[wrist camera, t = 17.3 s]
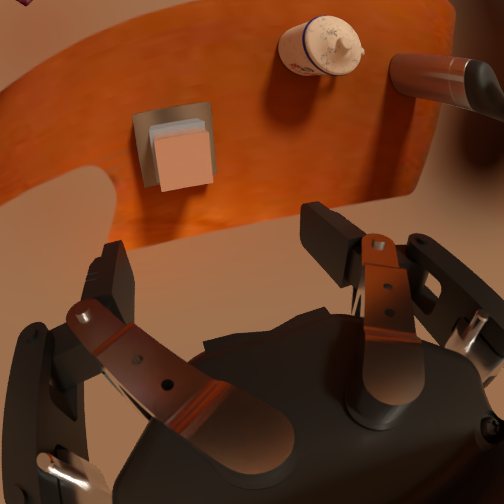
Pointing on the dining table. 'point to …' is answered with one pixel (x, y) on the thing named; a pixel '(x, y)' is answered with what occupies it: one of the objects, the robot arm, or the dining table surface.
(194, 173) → the terracotta block
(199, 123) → the slate block
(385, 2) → the dining table surface
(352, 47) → the teacup with lid
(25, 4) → the candy bar box
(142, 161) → the walnut plinth
